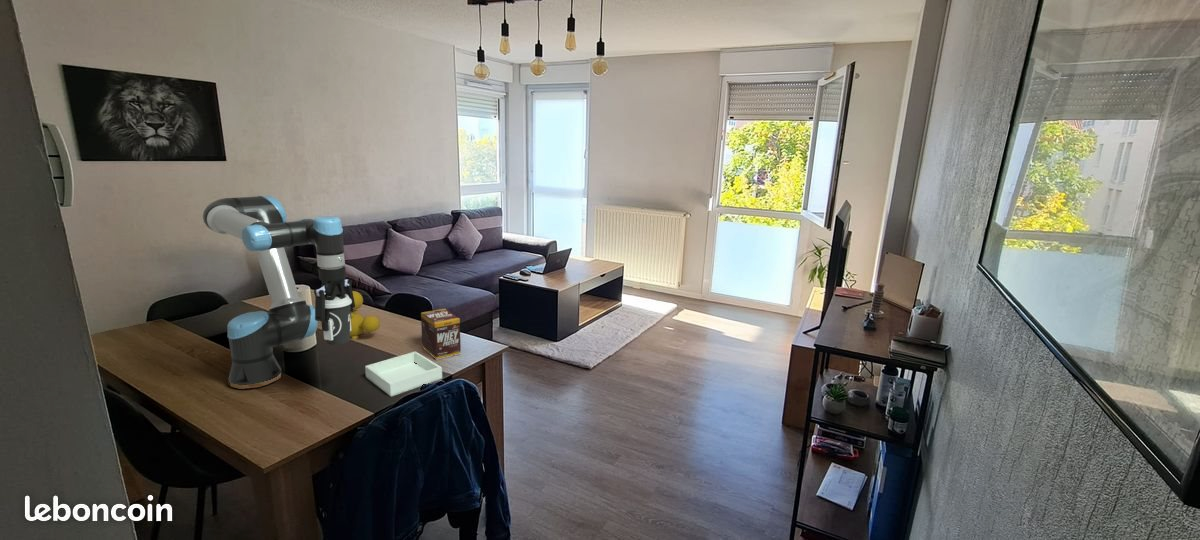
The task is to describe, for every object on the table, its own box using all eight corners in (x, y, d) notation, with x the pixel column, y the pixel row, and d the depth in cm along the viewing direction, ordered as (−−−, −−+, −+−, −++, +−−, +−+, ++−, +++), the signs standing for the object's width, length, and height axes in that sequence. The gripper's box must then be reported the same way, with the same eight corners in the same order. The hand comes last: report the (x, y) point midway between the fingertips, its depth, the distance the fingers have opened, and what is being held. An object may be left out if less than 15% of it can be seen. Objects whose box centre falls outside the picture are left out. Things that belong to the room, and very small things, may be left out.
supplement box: (436, 361, 190) (434, 323, 186) (422, 347, 201) (420, 312, 197) (461, 354, 196) (460, 318, 193) (446, 342, 208) (445, 307, 204)
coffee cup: (354, 344, 156) (350, 300, 152) (320, 348, 152) (315, 303, 148) (355, 334, 164) (352, 291, 160) (323, 337, 160) (319, 294, 156)
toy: (322, 333, 211) (317, 289, 206) (343, 326, 220) (339, 283, 215) (363, 346, 200) (360, 300, 195) (384, 338, 209) (381, 294, 204)
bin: (390, 396, 162) (390, 384, 161) (366, 377, 174) (365, 366, 173) (442, 378, 176) (441, 367, 175) (415, 362, 188) (415, 351, 187)
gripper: (317, 275, 141) (324, 348, 147) (364, 260, 161) (369, 325, 166) (295, 273, 143) (303, 345, 148) (344, 258, 162) (350, 323, 168)
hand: (338, 334), depth 157 cm, fingers closed on coffee cup, 7 cm apart
